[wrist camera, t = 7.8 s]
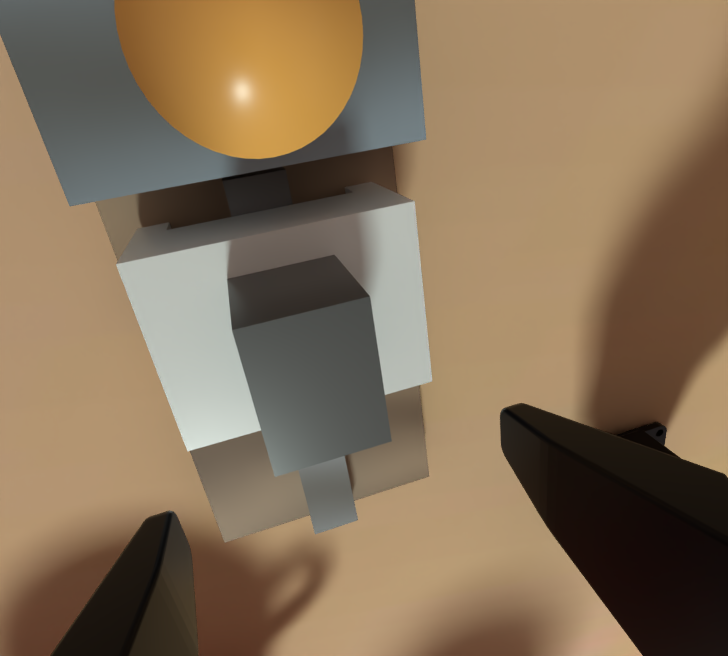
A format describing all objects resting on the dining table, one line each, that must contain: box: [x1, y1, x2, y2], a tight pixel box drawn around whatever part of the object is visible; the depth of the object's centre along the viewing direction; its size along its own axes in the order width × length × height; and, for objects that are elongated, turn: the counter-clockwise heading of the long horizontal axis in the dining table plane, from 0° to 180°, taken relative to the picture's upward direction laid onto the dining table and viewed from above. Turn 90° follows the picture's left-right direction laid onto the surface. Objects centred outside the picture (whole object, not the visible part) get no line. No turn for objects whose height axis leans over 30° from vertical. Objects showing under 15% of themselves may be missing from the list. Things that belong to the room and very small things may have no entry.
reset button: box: [114, 0, 363, 159], centre depth 8 cm, size 4×4×2 cm
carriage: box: [116, 182, 432, 477], centre depth 15 cm, size 6×8×8 cm
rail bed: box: [0, 0, 429, 542], centre depth 18 cm, size 21×10×6 cm, turn 8°
